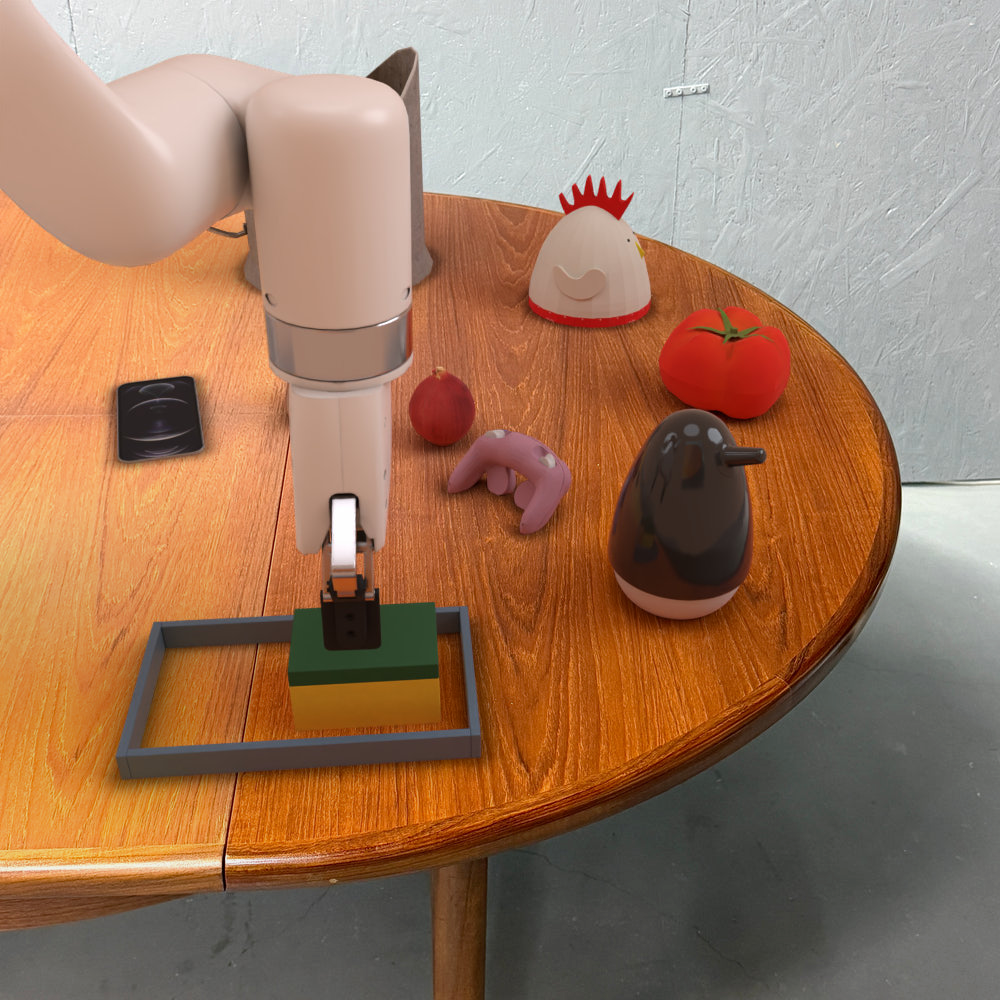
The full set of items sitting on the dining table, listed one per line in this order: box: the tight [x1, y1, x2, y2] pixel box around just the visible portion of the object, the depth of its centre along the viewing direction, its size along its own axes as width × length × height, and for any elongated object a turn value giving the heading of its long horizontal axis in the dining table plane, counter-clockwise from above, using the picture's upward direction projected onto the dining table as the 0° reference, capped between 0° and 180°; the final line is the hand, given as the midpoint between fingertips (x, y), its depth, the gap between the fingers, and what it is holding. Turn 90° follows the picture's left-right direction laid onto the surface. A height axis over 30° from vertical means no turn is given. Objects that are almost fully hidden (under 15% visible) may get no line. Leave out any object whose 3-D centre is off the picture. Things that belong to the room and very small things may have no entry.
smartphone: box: [116, 375, 206, 465], centre depth 99 cm, size 8×1×15 cm
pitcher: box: [206, 46, 434, 292], centre depth 124 cm, size 23×32×25 cm
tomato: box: [658, 305, 792, 420], centre depth 101 cm, size 13×12×8 cm
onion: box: [408, 366, 477, 447], centre depth 95 cm, size 6×6×8 cm
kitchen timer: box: [528, 174, 652, 329], centre depth 119 cm, size 14×14×15 cm
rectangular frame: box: [115, 605, 482, 781], centre depth 69 cm, size 21×12×2 cm, turn 95°
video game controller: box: [447, 428, 572, 535], centre depth 88 cm, size 10×5×7 cm, turn 45°
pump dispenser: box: [607, 408, 768, 620], centre depth 75 cm, size 10×10×15 cm
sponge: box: [286, 601, 442, 732], centre depth 68 cm, size 9×6×5 cm, turn 95°
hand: (355, 592), depth 65 cm, fingers open, 9 cm apart
